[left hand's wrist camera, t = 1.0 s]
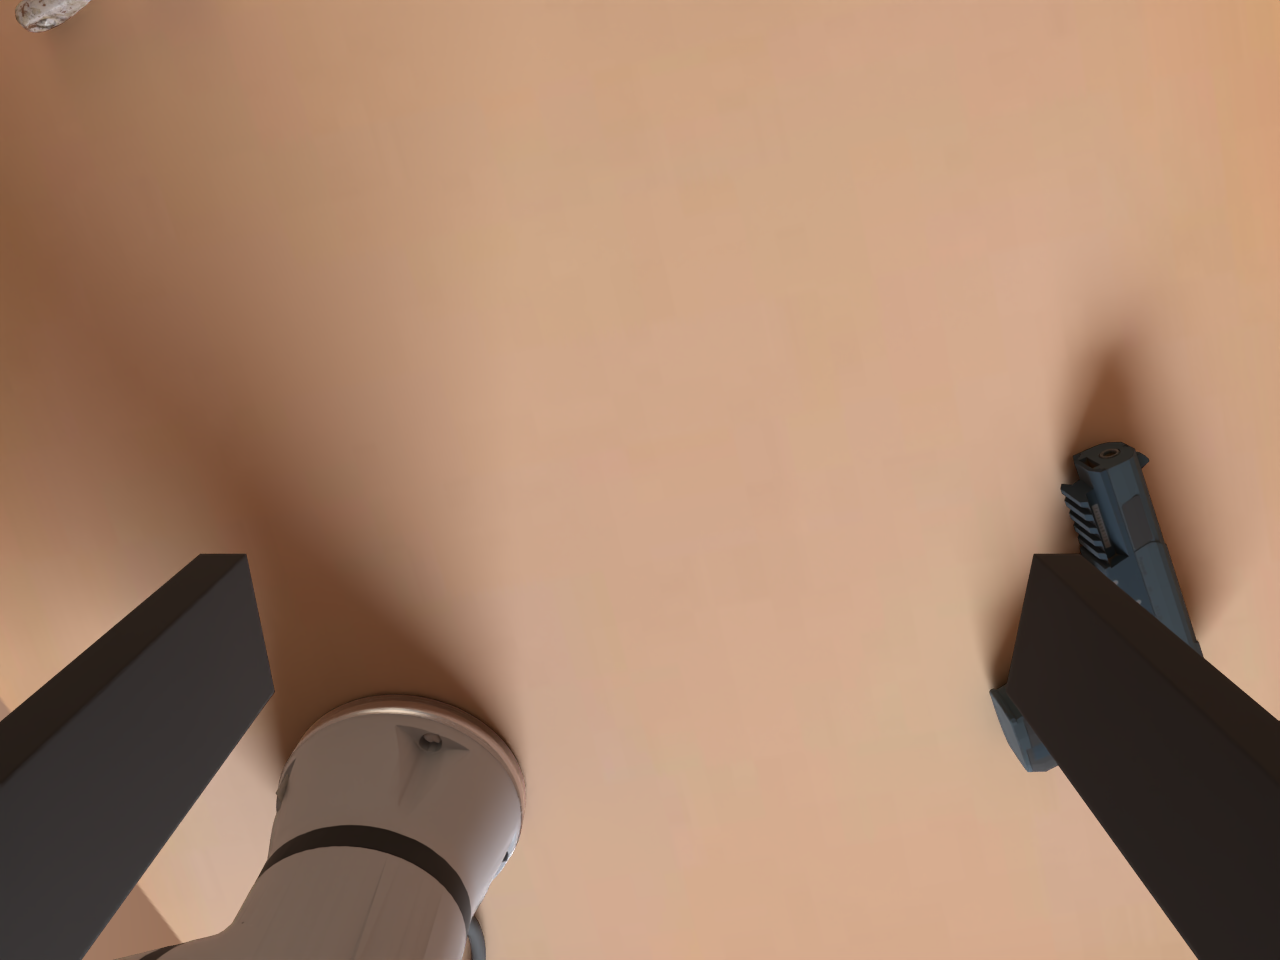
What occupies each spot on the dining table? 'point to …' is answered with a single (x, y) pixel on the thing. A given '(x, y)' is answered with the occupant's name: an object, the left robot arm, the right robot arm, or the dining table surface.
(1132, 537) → the handgun
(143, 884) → the dining table surface
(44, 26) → the putty knife
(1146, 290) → the dining table surface
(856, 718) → the dining table surface
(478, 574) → the dining table surface
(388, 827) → the right robot arm
